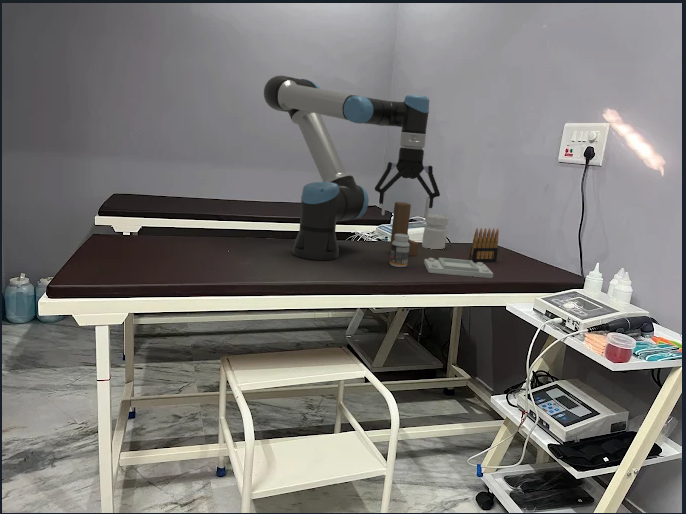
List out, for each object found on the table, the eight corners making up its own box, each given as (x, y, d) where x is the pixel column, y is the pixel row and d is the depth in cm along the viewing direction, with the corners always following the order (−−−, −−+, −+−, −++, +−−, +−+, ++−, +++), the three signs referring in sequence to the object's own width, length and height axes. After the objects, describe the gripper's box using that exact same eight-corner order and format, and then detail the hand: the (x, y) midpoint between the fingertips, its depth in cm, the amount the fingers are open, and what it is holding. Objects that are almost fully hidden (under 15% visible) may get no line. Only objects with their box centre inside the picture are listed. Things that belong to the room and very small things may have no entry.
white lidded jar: (417, 245, 213) (421, 214, 210) (435, 244, 217) (439, 214, 214) (430, 250, 206) (434, 218, 203) (449, 249, 210) (453, 218, 207)
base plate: (428, 272, 172) (429, 264, 172) (423, 263, 184) (424, 255, 184) (492, 278, 172) (493, 270, 172) (483, 268, 184) (485, 261, 184)
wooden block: (412, 253, 198) (418, 203, 194) (417, 256, 194) (423, 205, 190) (388, 252, 196) (394, 201, 192) (393, 255, 192) (398, 203, 187)
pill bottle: (388, 262, 181) (391, 232, 178) (405, 263, 181) (408, 233, 179) (391, 267, 175) (394, 236, 173) (408, 268, 176) (412, 237, 174)
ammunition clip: (493, 260, 198) (498, 227, 195) (496, 262, 196) (501, 228, 193) (468, 261, 193) (473, 227, 191) (471, 262, 192) (476, 228, 189)
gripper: (371, 144, 166) (365, 214, 171) (454, 151, 166) (445, 221, 171) (370, 144, 173) (364, 211, 178) (450, 150, 173) (441, 217, 178)
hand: (404, 216), depth 175 cm, fingers open, 13 cm apart
